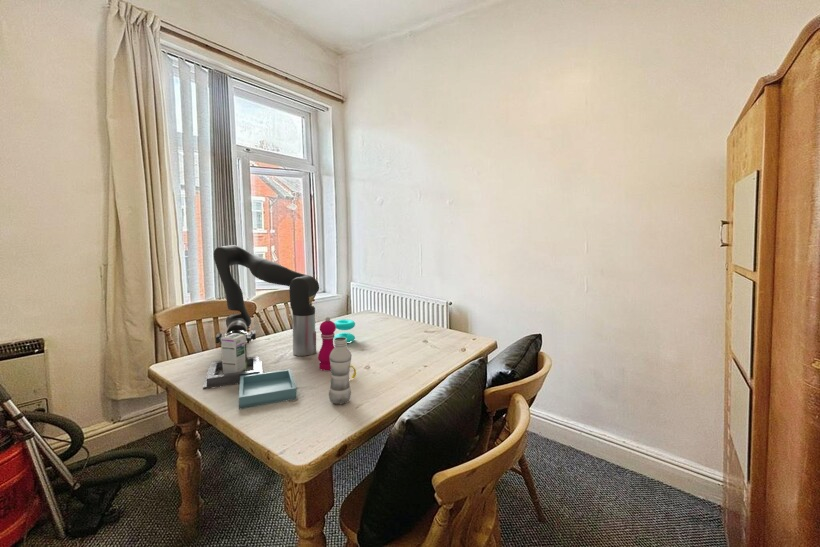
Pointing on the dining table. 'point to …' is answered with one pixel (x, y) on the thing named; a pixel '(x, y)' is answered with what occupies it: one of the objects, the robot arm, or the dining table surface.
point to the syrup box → (234, 353)
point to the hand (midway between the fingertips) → (235, 341)
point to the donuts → (345, 325)
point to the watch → (354, 371)
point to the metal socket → (230, 378)
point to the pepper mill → (326, 343)
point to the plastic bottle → (340, 372)
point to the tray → (266, 388)
